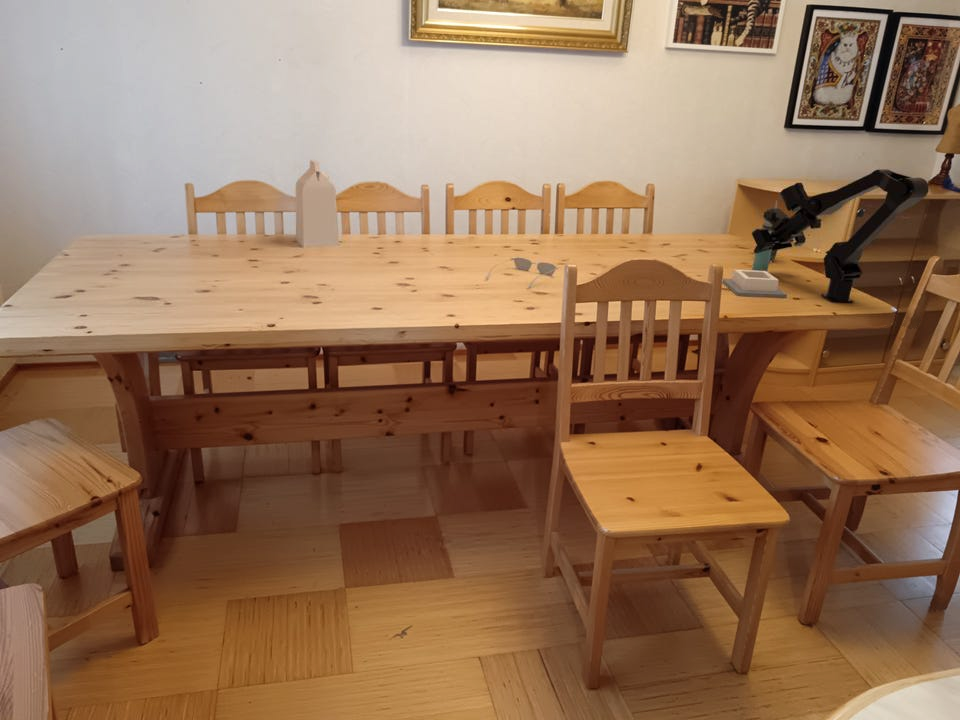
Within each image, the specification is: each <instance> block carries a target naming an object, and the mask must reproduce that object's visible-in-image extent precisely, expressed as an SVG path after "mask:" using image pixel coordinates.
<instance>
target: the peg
mask: <svg viewBox="0 0 960 720" xmlns="http://www.w3.org/2000/svg"><path fill="white" fill-rule="evenodd" d="M769 233H770V231H769ZM772 247H773V246H772ZM771 251H772V249H771V250H767V251H764V252H760V253H756V254H755V253H754V254H755V255H754V259H753V264H752V269H751V270H756V271H767V272H768V269H769V265H770V262H769V261H770V256H771Z"/></svg>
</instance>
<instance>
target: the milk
mask: <svg viewBox="0 0 960 720" xmlns="http://www.w3.org/2000/svg"><path fill="white" fill-rule="evenodd" d="M329 178H330V177H329V176H328V175H327V173H325V172H324V171H321V170H320V164H319V161H317V160H316V159H310V160H309V168H308V169H307V170H306V171H305V172H304V173H303V174H302V175H301V176H300V177H299V178H298V180H297V181H296V183H295V240H296V241H297V242H298V243H299V244H300V245H301V246H302V248H304V249H305V248H307V249H308V248H320V247H322V248H325V247H337V246H338V247H339V246H340V237H339V222H338V221H339V220H338V209H337V208H338V205H337V193H336V187H335V185H334V184H333V183H332V181H330V180H329Z"/></svg>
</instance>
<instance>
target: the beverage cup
mask: <svg viewBox="0 0 960 720" xmlns="http://www.w3.org/2000/svg"><path fill="white" fill-rule="evenodd" d="M774 208H778V200H775V205H774ZM771 226H773V225H772V224H771V223H770V222H768V221H767V220H765V219H764V221H763V224H762V226H761V228H765V229H768V231H770V232H774V230H772V228H771ZM777 253H778V250H775V251H771V256H770V261H774V262H775V258H776V256H777ZM770 261H769V263H771V262H770Z"/></svg>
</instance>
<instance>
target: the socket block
mask: <svg viewBox="0 0 960 720" xmlns="http://www.w3.org/2000/svg"><path fill="white" fill-rule="evenodd" d="M722 279H723V283H722V284H724V285H725V286H726V287H727V288H728V289H729V290H730V291H731V292H732V293H734V294H735V295H736V296H737V297H751V298H752V297H755V298H774V299H776V298H777V299H778V298H779V299H780V298H781V299H787V296H788V294H787V293H786V292H784V291H783V290H782V289H780V288H779V287H778V285H779V279H778V278H777V277H776V276H774V275H772V274H771V273H770V272H768V270H767V271H756V270H752V269H750V270H749V269H733V274H732V278H722Z"/></svg>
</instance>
